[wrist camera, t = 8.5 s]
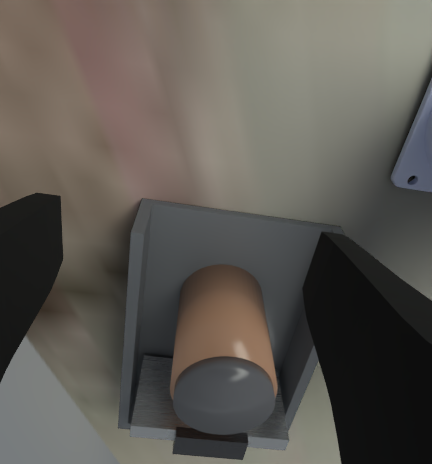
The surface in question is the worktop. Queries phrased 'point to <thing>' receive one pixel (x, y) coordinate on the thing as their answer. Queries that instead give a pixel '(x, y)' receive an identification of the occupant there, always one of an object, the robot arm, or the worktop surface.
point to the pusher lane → (214, 253)
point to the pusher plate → (186, 438)
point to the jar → (222, 353)
